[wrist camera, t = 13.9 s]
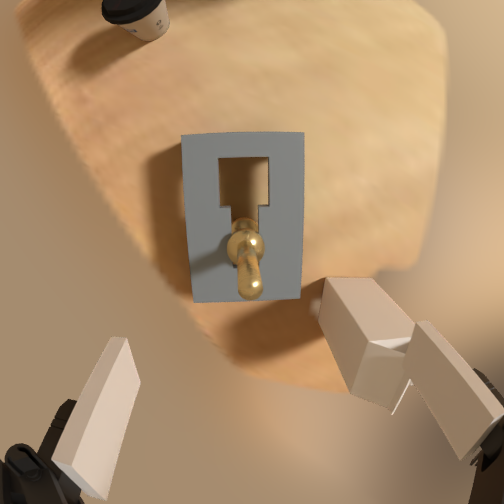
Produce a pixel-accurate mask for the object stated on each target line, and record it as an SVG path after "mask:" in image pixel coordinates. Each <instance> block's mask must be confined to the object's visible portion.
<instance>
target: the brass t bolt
mask: <svg viewBox="0 0 504 504" xmlns="http://www.w3.org/2000/svg"><path fill="white" fill-rule="evenodd" d="M231 227H232V234H231V236H230V237H229V239H228V242H227V253H228V256H229V258H230V259H231V261H232V262H233V263H235V264H237V274H238V293H239V295H240V296H241V297H242V298H243V299H245V300H249V301H252V300H256V299H258V298H259V297H260V296H261V295H262V293H263V285H262V280H261V275H260V270H259V265H258V262H259V261H260V260H261V259H262V257H263V255H264V252H265V245H264V241H263V239H262V237H261V235H260V234H259V233H258V224H257V223H256V222H255V221H254V220H252V219H250V218H246V217H243V218H238V219H236V220H235V221H233V222H232V223H231Z"/></svg>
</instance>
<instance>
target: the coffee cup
mask: <svg viewBox="0 0 504 504" xmlns="http://www.w3.org/2000/svg"><path fill="white" fill-rule="evenodd" d="M102 15H103V17H104V18H105V20H106V21H108V22H110V23H111V24H117V25H118V26H120V27H122V28H123V29H125V30H127V31H128V32H130V33H131V34H133V35H135V36H136V37H138V38H139V39H141V40H144V41H153V40H156V39H158V38H160V37H161V36H163V35H164V34H165V33H166V32H167V30H168V28H169V24H170V22H169V17H168V12H167V7H166V2H165V0H103V2H102Z"/></svg>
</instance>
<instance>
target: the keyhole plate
mask: <svg viewBox="0 0 504 504" xmlns="http://www.w3.org/2000/svg"><path fill="white" fill-rule="evenodd" d="M181 145H182V170H183V189H184V205H185V219H186V232H187V244H188V254H189V265H190V274H191V284H192V292H193V301H194V303H207V302H240V301H249V300H245V299H243V298H242V297H241V296H240V295H239V293H238V274H237V264H233V262H232V261H231V259H230V258H229V256H228V253H227V242H228V239H229V237H230V236H231V234H232V227H231V206H220V192H219V164H218V158H231V157H268V205H258V233H259V234H260V235H261V237H262V239H263V241H264V245H265V252H264V255H263V257H262V259H261V260H260V261H259V263H258V265H259V270H260V275H261V280H262V285H263V293H262V295H261V296H260V297H259V298H258V299H256V300H252V301H264V300H283V299H300V293H301V275H302V253H303V224H304V133H303V132H227V133H207V134H192V135H181Z"/></svg>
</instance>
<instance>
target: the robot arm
mask: <svg viewBox="0 0 504 504" xmlns="http://www.w3.org/2000/svg"><path fill="white" fill-rule="evenodd" d="M402 367H403V369H404V370H405V372H406V373H407V375H408V376H409V378H410V379H411V381H412V383H413V384H414V386H415V387H416V389H417V390H418V392H419V393H420V395H421V396H422V398H423V400H424V401H425V403H426V405H427V406H428V407H429V409H430V411H431V412H432V414H433V416H434V417H435V419H436V421H437V422H438V424H439V426H440V427H441V429H442V431H443V432H444V434H445V436H446V437H447V439H448V441H449V443H450V444H451V446H452V447H453V449H454V451H455V453H456V455H457V457H458V458H459V460H460V461H461V460H462V459H464V458H466V457H468V456H470V455H471V454H473V453H474V452H475V451H476V449H477V448H478V447H479V446H481V448H482V450H481V451H480V452H479V453H478V455H477V456H476V457H475V458H474V459H473V460H472V461H471V463H470V465H473V464H474V463H475V461H476V460H477V459H478V462H477V463H476V464H475V466H477V468H476V474H475V478H474V483H473V487H472V491H471V495H470V499H469V503H468V504H504V398H503V397H502V396H501V394H500V393H499V392H498V391H497V389H494V386H493V385H492V384H491V383H490V382H489V380H488V379H487V378H486V377H485V375H484V374H483V373H481V372H480V371H478V370H477V369H475V368H474V369H472V368H471V367H470V366H469V365H468V364H467V363H466V361H465V360H464V359H463V358H462V357H461V356H460V355H459V353H458V352H457V351H456V350H455V349H454V348H453V347H452V346H451V345H450V344H449V342H447V340H446V339H445V338H444V337H443V336H442V335H441V334H440V333H439V332H438V330H437V329H436V328H435V327H434V326H433V325H432V324H431V323H430V322H429V321H428V320H426V321H420V322H416V324H415V327H414V330H413V333H412V337H411V340H410V343H409V346H408V349H407V352H406V354H405V357H404V360H403V363H402ZM140 383H141V382H140V379H139V376H138V373H137V370H136V367H135V364H134V361H133V357H132V354H131V350H130V347H129V344H128V340H127V338H124V337H123V338H122V337H111V338H110V340H109V342H108V344H107V345H106V347H105V349H104V351H103V353H102V354H101V356H100V358H99V360H98V362H97V364H96V366H95V368H94V370H93V371H92V373H91V375H90V377H89V379H88V381H87V383H86V385H85V387H84V389H83V391H82V393H81V395H80V397H79V399H78V401H75V400H71V399H68V400H67V401H66V402H65V403H63V404H62V405H61V406H60V407H59V409H58V411H57V413H56V415H55V419H53V421H52V423H51V427H49V429H48V431H47V433H46V435H45V437H44V439H43V442H42V444H41V446H40V448H39V450H38V452H37V453H36V452H35V451H34V450H33V449H32V448H31V447H30V446H28V445H26V444H23V443H21V444H15V445H14V446H12V447H10V448H9V449H8V451H7V453H6V455H5V463H3V462H2V461H1V460H0V504H84V502H83V500H82V498H81V497H80V493H81V490H82V491H83V492H85V493H86V494H87V495H88V496H91V497H94V498H98V499H101V500H105V501H106V500H107V497H108V493H109V488H110V484H111V481H112V477H113V473H114V470H115V466H116V462H117V458H118V455H119V451H120V447H121V444H122V440H123V437H124V434H125V431H126V427H127V424H128V421H129V418H130V414H131V411H132V408H133V404H134V402H135V398H136V395H137V392H138V389H139V386H140Z"/></svg>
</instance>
